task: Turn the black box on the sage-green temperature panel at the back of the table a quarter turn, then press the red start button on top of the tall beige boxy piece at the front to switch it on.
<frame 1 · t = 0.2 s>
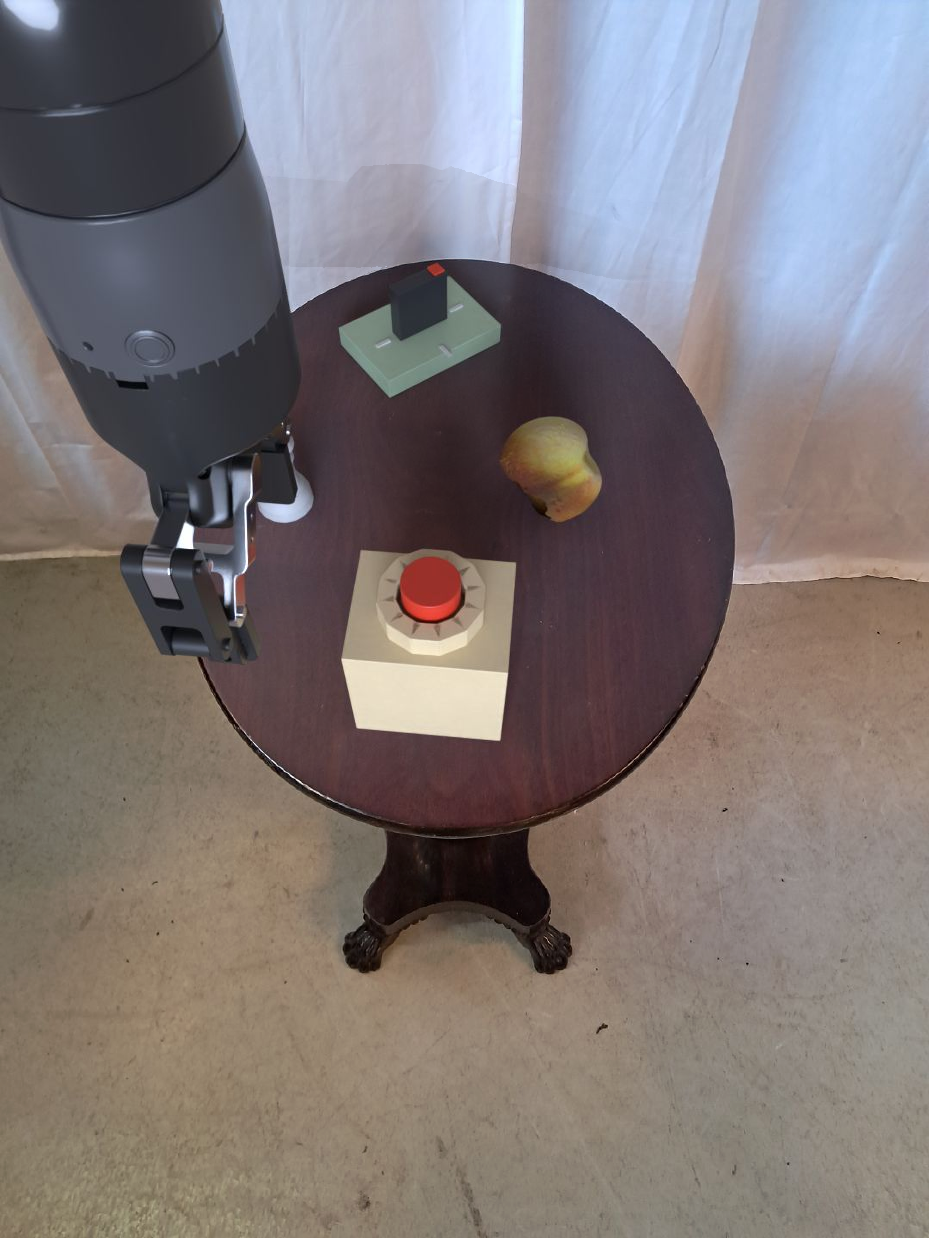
hand: (256, 571, 42), 23 cm above the table, tool pointing down, fingers open, 8 cm apart
fruit: (545, 503, 74), on the table
beige boxy piece: (434, 683, 65), on the table
dial panel: (420, 343, 82), on the table
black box: (419, 301, 78), point 5 cm above the table, hinge at 0.0°
rook chess piece: (287, 505, 73), on the table
start button: (430, 589, 54), point 12 cm above the table, slide at 0.1 cm
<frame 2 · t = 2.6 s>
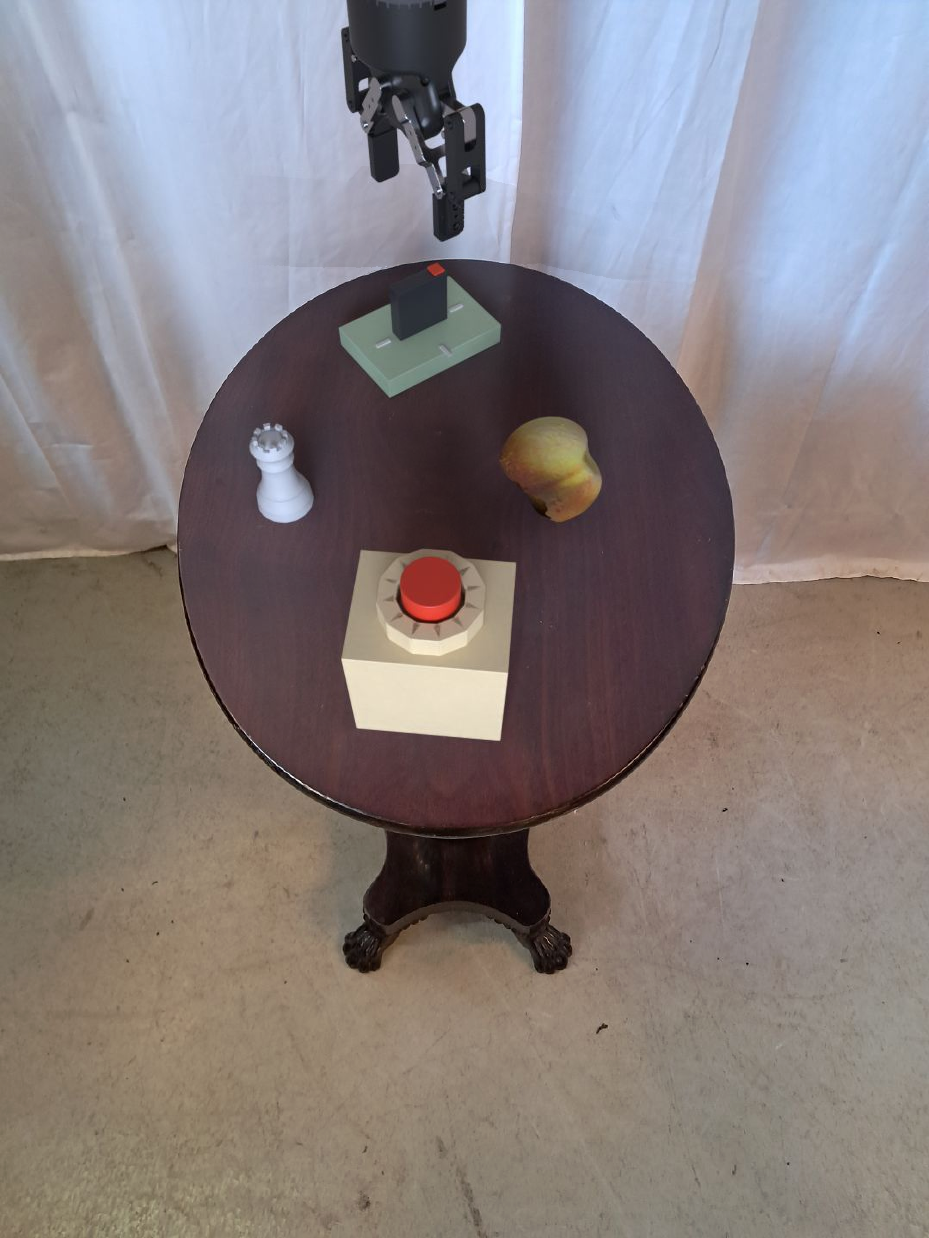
hand: (416, 206, 69), 15 cm above the table, tool pointing down, fingers open, 8 cm apart
nothing on the table moved.
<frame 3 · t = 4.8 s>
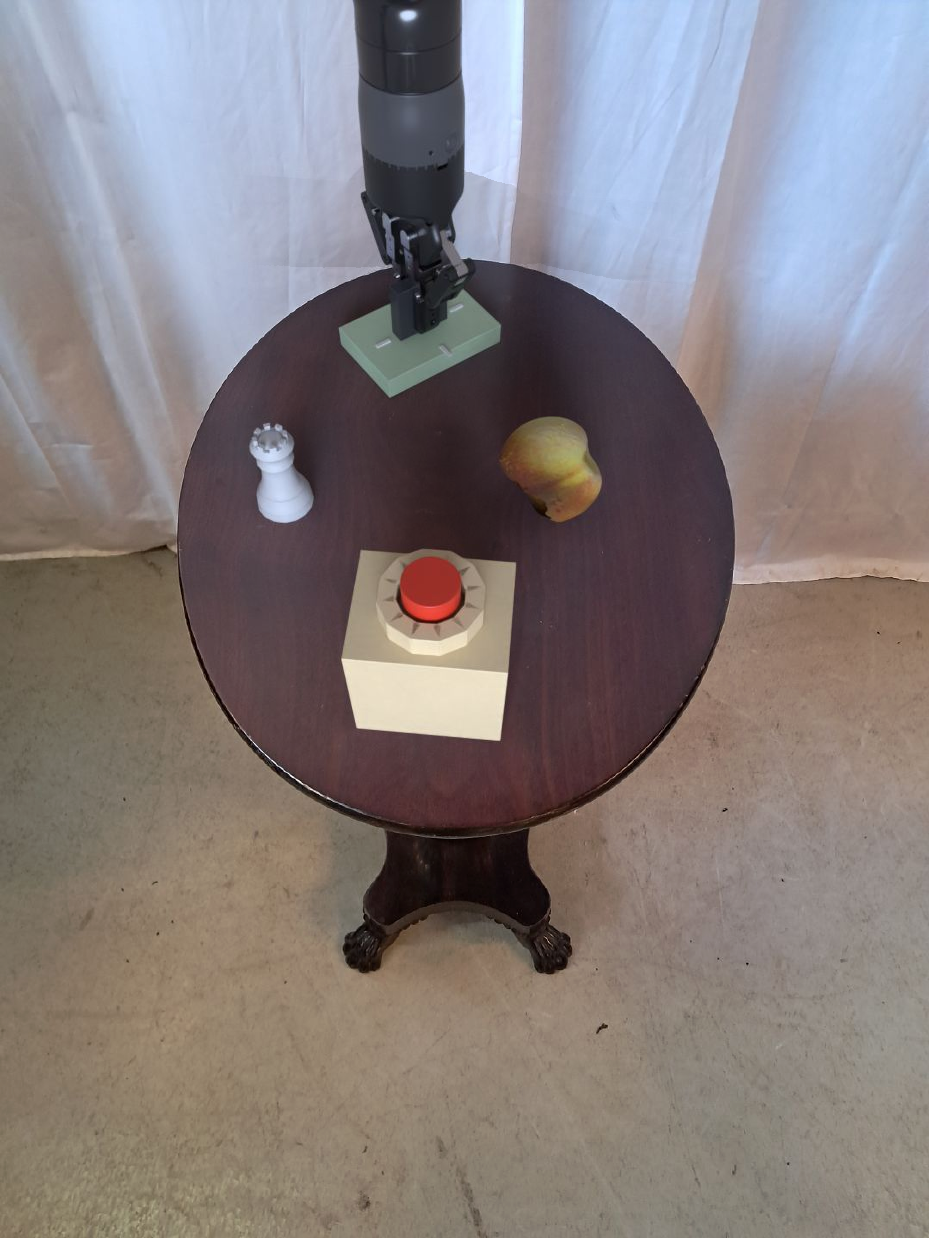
hand: (420, 321, 80), 3 cm above the table, tool pointing down, fingers closed
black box: (419, 301, 78), point 5 cm above the table, hinge at 0.0°, touching gripper
everything else where it was.
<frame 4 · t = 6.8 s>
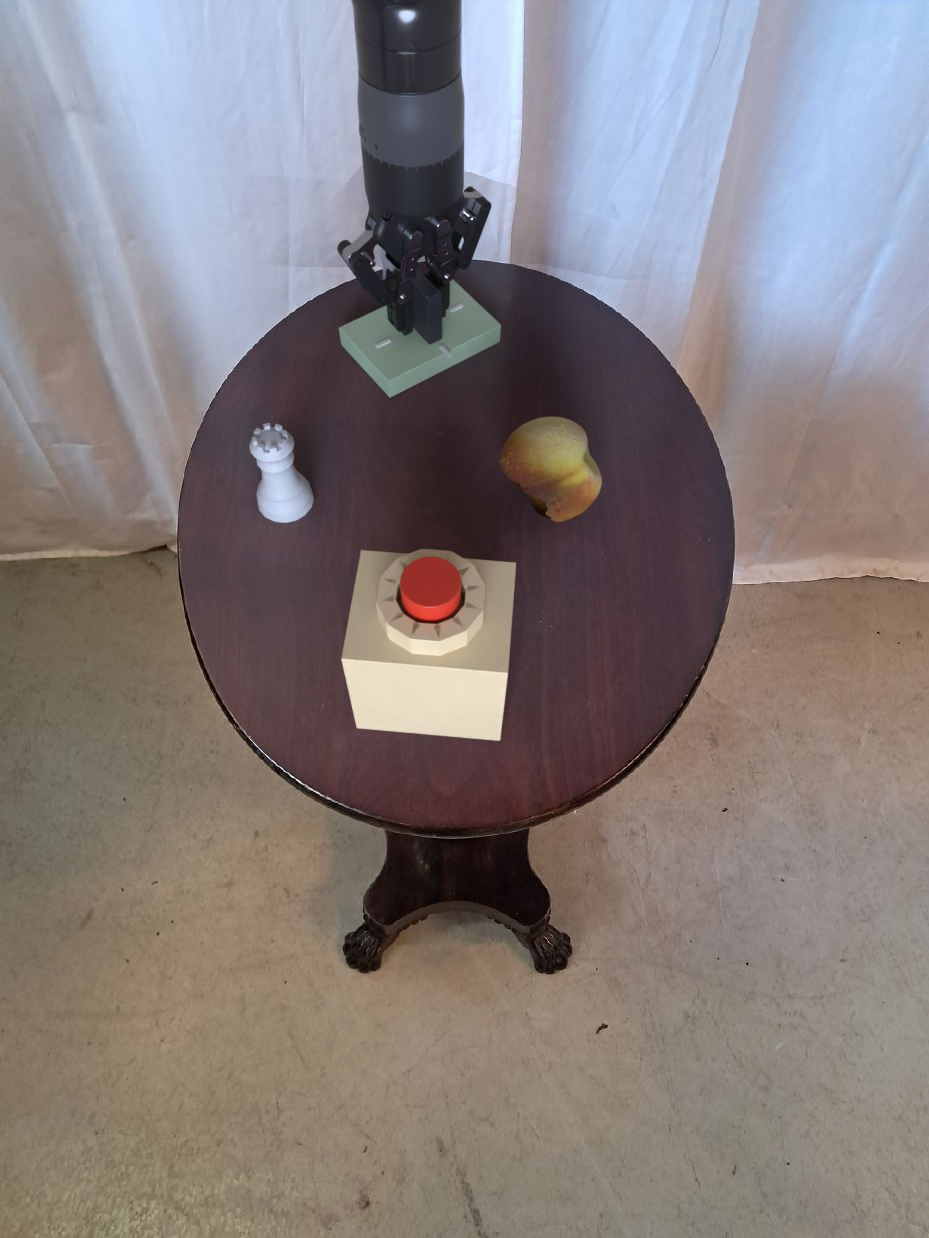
hand: (419, 320, 80), 3 cm above the table, tool pointing down, fingers open, 3 cm apart
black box: (419, 301, 78), point 5 cm above the table, hinge at 89.8°
everything else where it was.
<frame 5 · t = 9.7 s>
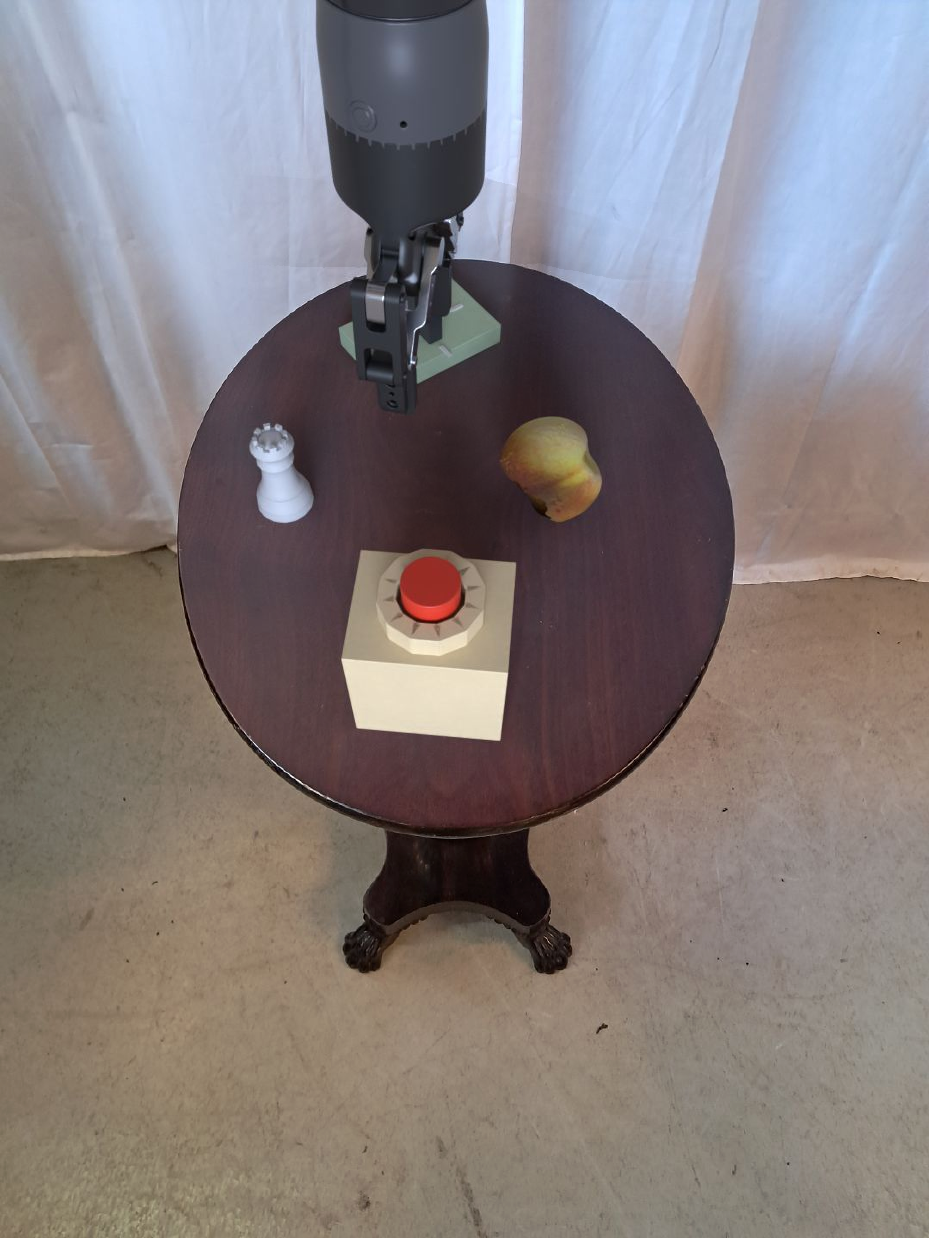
hand: (416, 358, 55), 19 cm above the table, tool pointing down, fingers open, 8 cm apart
nothing on the table moved.
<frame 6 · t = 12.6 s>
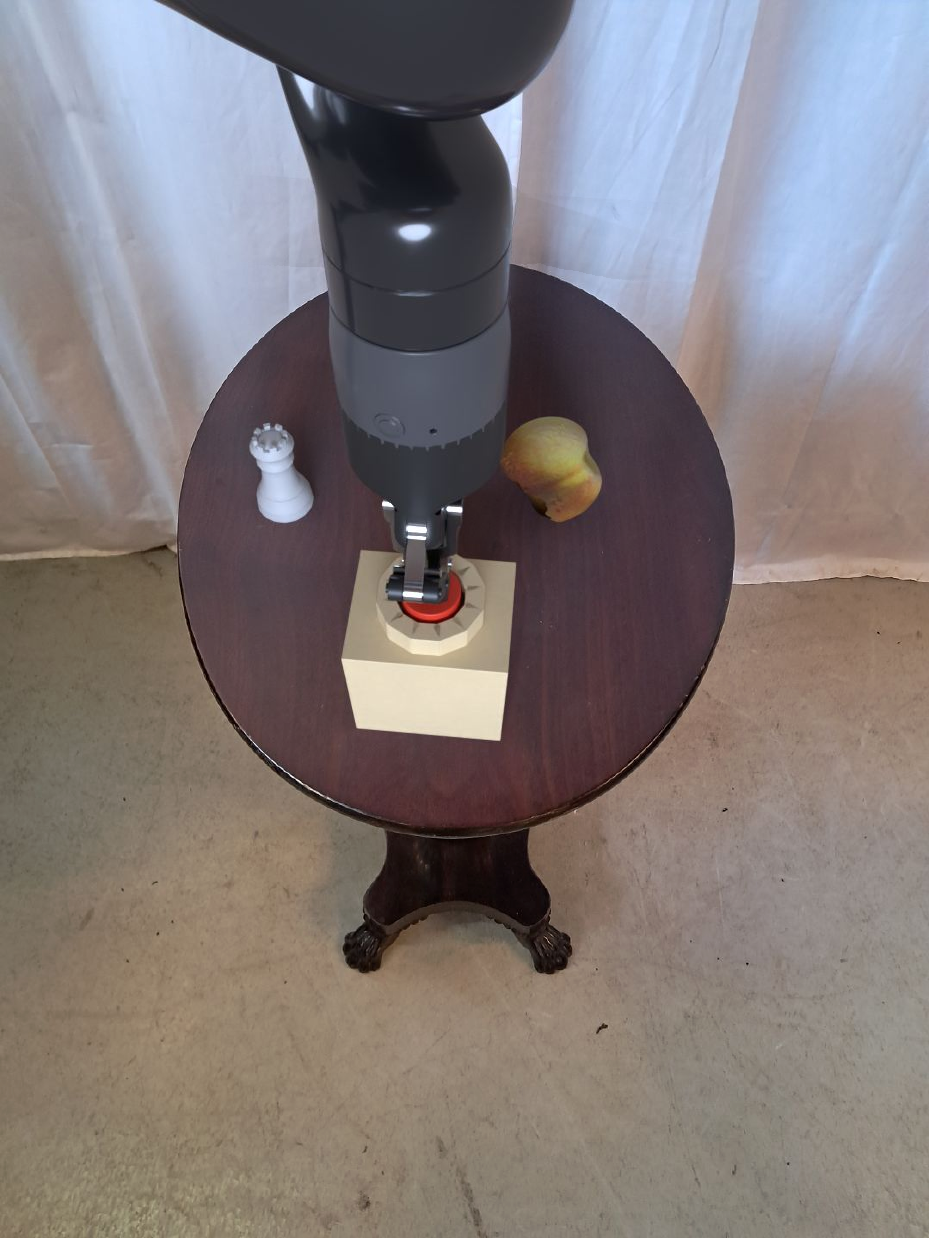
hand: (430, 590, 54), 12 cm above the table, tool pointing down, fingers closed
start button: (431, 597, 55), point 12 cm above the table, slide at -0.8 cm, touching gripper
everything else where it was.
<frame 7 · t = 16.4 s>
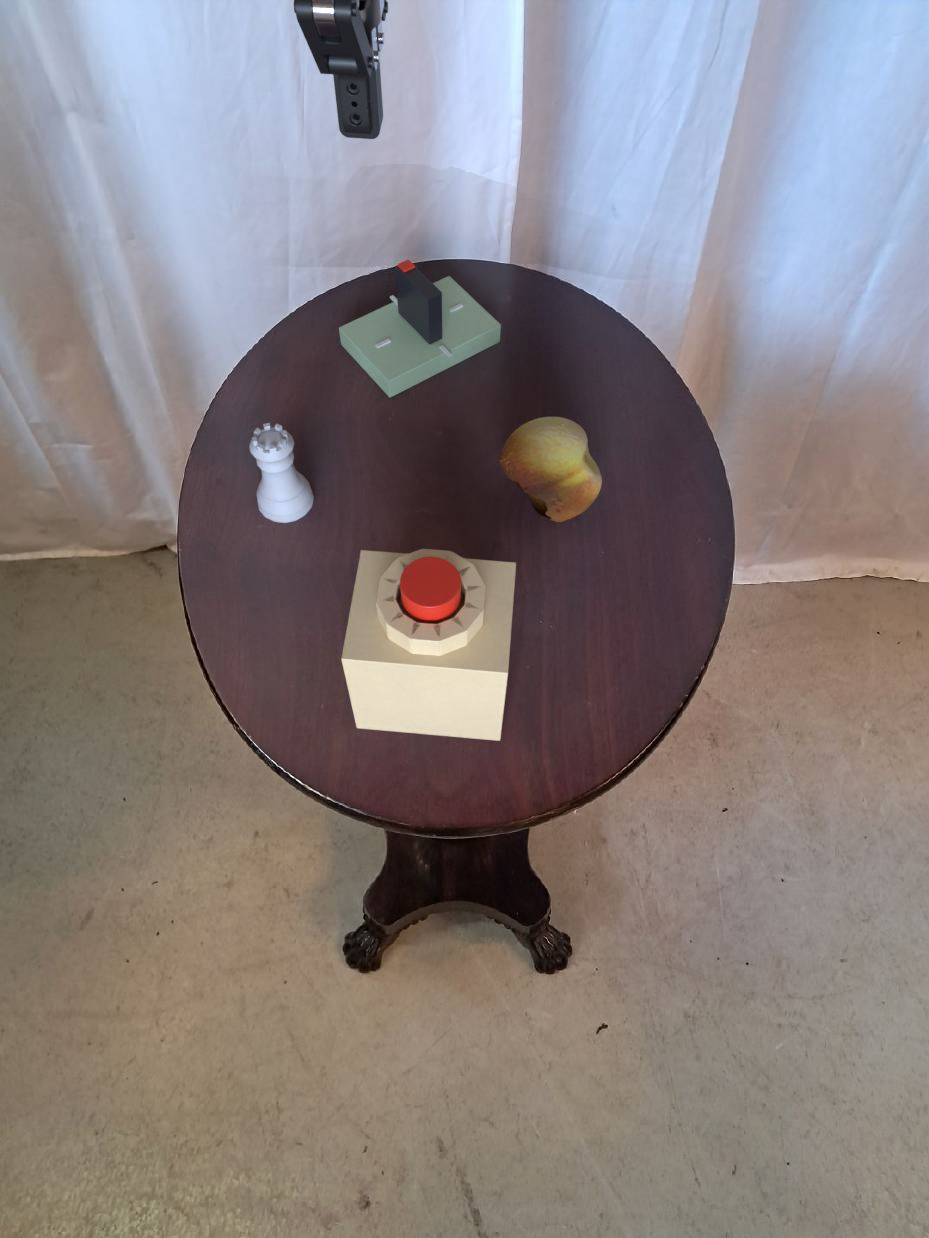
hand: (362, 130, 50), 29 cm above the table, tool pointing down, fingers closed
start button: (430, 589, 54), point 12 cm above the table, slide at 0.1 cm
everything else where it was.
at the end: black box at +90° (first picture: +0°); start button pushed in 1.1 cm at the most during the clip, back to where it started at the end; start button slide at 0.1 cm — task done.
